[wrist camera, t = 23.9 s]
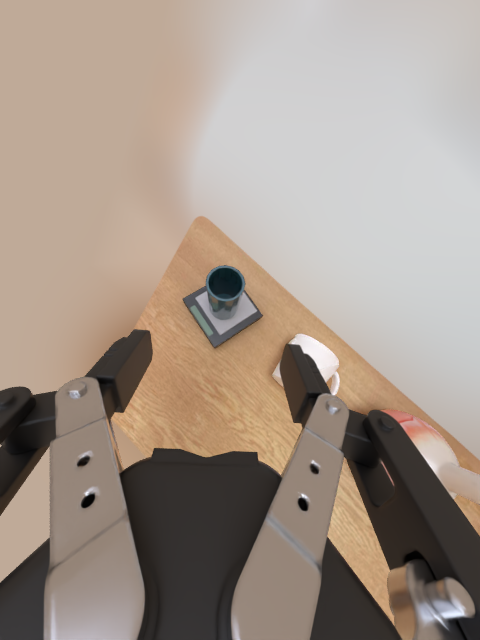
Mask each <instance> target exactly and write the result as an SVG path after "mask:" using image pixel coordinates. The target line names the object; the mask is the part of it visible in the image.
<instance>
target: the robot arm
mask: <svg viewBox="0 0 480 640" xmlns="http://www.w3.org/2000/svg"><path fill="white" fill-rule="evenodd" d="M152 354H153V351H152V343H151V334H150V331H148V330H137V329H134V330H133V331H132V332H131V334H130V335H129V336H128V337H127V338H126V337H123V338H121V339H119V340H118V341H116V342H115V343H114V344H113V345H112V346H111V347H110V348H109V350H108V351H107V352H106V353H105V354H104V356H102V357H101V358H100V360H99V361H98V362H97V363H96V364H95V365H94V366H93V368H92V369H91V370H90V371H89V372H88V373H87V374H86V375H85V377H81V378H77V379H74V380H72V381H70V382H68V383H66V384H64V385H63V386H62V387H61V388H60V389H59V390H58V391H54V392H48V393H42V394H36V395H33V394H32V393H31V391H30V390H29V389H28V388H26V387H12V388H8V389H5V390H2V391H0V444H1V445H2V446H1V447H0V515H1V514H2V513H3V511H4V510H5V508H6V507H7V505H8V504H9V502H10V501H11V500H12V498H13V497H14V496H15V494H16V493H17V491H18V490H19V489H20V487H21V486H22V484H23V483H24V481H25V480H26V479H27V477H28V476H29V474H30V473H31V471H32V470H33V469H34V467H35V466H36V464H37V463H38V462H39V460H40V459H41V457H42V456H43V454H44V453H45V452H46V450H47V449H48V447H49V446H50V538H48V539H47V540H46V541H45V542H44V543H43V544H42V545H41V546H40V547H39V548H38V549H36V550H35V551H34V552H33V553H32V554H31V555H30V556H29V557H28V558H27V559H26V560H24V561H23V562H22V563H21V564H20V565H19V566H18V567H17V568H16V569H15V570H14V571H12V572H11V573H10V574H9V575H8V576H7V577H6V578H5V579H4V580H3V581H2V582H1V583H0V640H480V536H479V535H478V533H477V532H476V531H475V529H474V528H473V526H472V525H471V524H470V522H469V521H468V519H467V518H466V517H465V515H464V514H463V512H462V511H461V509H460V508H459V507H458V505H457V504H456V502H455V501H454V500H453V498H452V497H451V495H450V494H449V492H448V491H447V490H446V488H445V487H444V485H443V484H442V483H441V481H440V480H439V478H438V477H437V476H436V474H435V473H434V471H433V470H432V468H431V467H430V466H429V464H428V463H427V461H426V460H425V459H424V457H423V456H422V454H421V453H420V451H419V450H418V449H417V447H416V446H415V444H414V443H413V442H412V440H411V439H410V437H409V436H408V435H407V433H406V432H405V430H404V429H403V427H402V426H401V425H400V423H399V422H398V421H397V420H396V419H394V418H393V417H392V416H390V415H389V414H387V413H385V412H383V411H380V410H372V411H370V412H369V413H368V415H367V416H366V415H364V414H361V413H358V412H355V411H352V410H349V409H348V407H347V406H346V404H345V403H344V402H343V401H342V400H341V399H339V398H338V397H336V396H334V395H332V394H331V392H330V390H329V388H328V386H327V384H326V382H325V380H324V378H323V376H322V374H320V371H319V369H318V368H317V365H316V363H315V361H314V360H313V359H312V358H311V357H310V356H309V355H308V354H305V353H304V352H303V350H302V348H301V346H300V345H297V344H286V345H285V348H284V352H283V355H282V358H281V361H280V367H279V370H280V375H281V379H282V382H283V386H284V390H285V393H286V397H287V400H288V404H289V408H290V411H291V415H292V419H293V422H294V423H301V424H302V427H303V429H302V431H301V433H300V435H299V437H298V439H297V442H296V444H295V446H294V448H293V450H292V453H291V455H290V457H289V459H288V461H287V464H286V466H285V468H284V470H283V472H282V474H281V475H280V474H279V473H278V472H276V471H275V470H274V469H273V468H271V467H270V466H268V465H267V464H265V463H263V462H260V461H258V454H257V452H239V451H232V452H228V453H224V454H220V455H216V456H212V457H207V458H206V457H202V456H199V455H196V454H193V453H190V452H187V451H184V450H182V449H164V448H154V451H153V454H152V457H149V458H146V459H143V460H140V461H139V462H136V463H134V464H133V465H131V466H129V467H128V468H126V469H125V470H124V468H123V465H122V461H121V458H120V455H119V450H118V447H117V443H116V439H115V435H114V431H113V427H112V423H111V417H112V416H113V414H114V412H120V413H124V411H125V409H126V407H127V405H128V403H129V402H130V400H131V398H132V396H133V394H134V392H135V390H136V389H137V387H138V385H139V383H140V381H141V379H142V377H143V375H144V374H145V372H146V370H147V368H148V366H149V364H150V362H151V360H152ZM344 457H345V458H346V459H347V462H348V465H349V467H350V470H351V472H352V475H353V477H354V480H355V482H356V485H357V487H358V490H359V492H360V495H361V498H362V500H363V503H364V505H365V508H366V510H367V513H368V515H369V518H370V520H371V523H372V525H373V528H374V531H375V533H376V536H377V538H378V541H379V543H380V546H381V548H382V551H383V553H384V556H385V558H386V561H387V564H388V566H389V569H390V572H389V574H388V578H387V588H388V594H389V605H390V608H391V611H392V613H393V615H394V622H395V626H394V625H393V624H392V622H391V621H390V619H389V618H388V617H387V615H386V614H385V613H384V611H383V610H382V609H381V607H380V606H379V605H378V603H377V602H376V601H375V599H374V598H373V597H372V595H371V594H370V593H369V591H368V590H367V589H366V587H365V586H364V585H363V583H362V582H361V581H360V579H359V578H358V577H357V575H356V574H355V573H354V571H353V570H352V569H351V567H350V566H349V565H348V563H347V562H346V561H345V559H344V558H343V557H342V555H341V554H340V553H339V551H338V550H337V549H336V547H335V546H334V545H333V544H332V542H331V541H330V540H329V538H328V537H327V534H328V530H329V525H330V520H331V516H332V511H333V506H334V502H335V497H336V492H337V487H338V483H339V478H340V473H341V469H342V464H343V459H344ZM382 462H383V464H384V466H385V468H386V470H387V472H388V473H389V475H390V477H391V479H392V481H393V483H392V481H391V479H390V477H389V476H388V474H387V472H386V470H385V468H384V466H383V464H382ZM393 484H394V485H393Z"/></svg>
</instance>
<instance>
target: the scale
mask: <svg viewBox="0 0 480 640" xmlns="http://www.w3.org/2000/svg"><path fill="white" fill-rule="evenodd" d="M183 301H184V303H185V304H186V306H187V307H188V309H189V311H190V312H191V314H192V315H193V317H194V318H195V320H196V321H197V323H198V324H199V326H200V327H201V329H202V330H203V332H204V333H205V335H206V336H207V338H208V339H209V341H210V342H211V344H212V345H213V347H214V348H217V347H218V346H220V345H221V344H223V343H224V342H226V341H227V340H229V339H230V338H232V337H233V336H235V335H236V334H238V333H239V332H241V331H242V330H244V329H245V328H247V327H248V326H250V325H251V324H253V323H254V322H256V321H257V320H259V319H260V318H261V317H262V316H263V315H262V314H261V312H260V311H259V309H258V308H257V307H256V305H255V304H254V303H253V301H252V300H251V298H250V297H249V296H248V294H247V293H246V291H245V290H244V292H243V295H242V298H241V301H240V304H239V307H238V310H237V312H236V314H235V315H234V316H233V317H232V318H230V319H227V320H220V319H217V318H215V317H214V316H213V315H212V314H211V312H210V309H209V304H208V296H207V289H206V286H204V287H203V288H201V289H199V290H197V291H196V292H194V293H192V294H190V295H189V296H187V297H185V298H183Z"/></svg>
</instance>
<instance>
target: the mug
mask: <svg viewBox="0 0 480 640" xmlns="http://www.w3.org/2000/svg"><path fill="white" fill-rule="evenodd" d="M288 344H297V345H300V346H301V348H302V350H303V352H304V353H305V354H308V355H309V356H310V357H311V358H312V359H313V360H314V361H315V363H316V365H317V368H318V369H319V371H320V374H322V376H323V378H324V380H325V382H327V381H328V379H329V378H330V377H331V376H332V385H331V388H330V392H331V394H332V395H334V396H335V395H336V393H337V391H338V388H339V384H340V379H339V375H338V373H337V372H336V370H337V368H338V367H339V365H338V364H339V360H338V358H337V357H336V356H335V354H334V353H333V352H332V351H331V350H330V349H328V348H327V347H326V346H325V345H323V344H322V343H320V342H319V341H317V340H315V339H314V338H312V337H310V336H307V335H305V334H296V335H295V337H294V339H292V340H291V341H290V342H289V343H288ZM280 361H281V359H280ZM280 361H279V363H278V365H277V367H276V369H275V370H274V372H273V374H272V376H273V378H274V379H275V380H276V381H277V382H278V383H279V384H280V385H281V386H283V382H282V379H281V375H280V370H279V367H280ZM283 387H284V386H283Z"/></svg>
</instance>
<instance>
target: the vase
mask: <svg viewBox="0 0 480 640" xmlns="http://www.w3.org/2000/svg"><path fill="white" fill-rule="evenodd" d="M380 411H383V412H385V413H387V414H389V415H390V416H392V417H393V418H394V419H396V420H397V421H398V422H399V423H400V425H401V426H402V427H403V429H404V430H405V432H406V433H407V435H408V436H409V437H410V439H411V440H412V442H413V443H414V444H415V446H416V447H417V449H418V450H419V451H420V453H421V454H422V456H423V457H424V459H425V460H426V461H427V463H428V464H429V466H430V467H431V468H432V470H433V471H434V473H435V474H436V476H437V477H438V478H439V480H440V481H441V483H442V484H443V485H444V487H445V488H446V490H447V491H448V492H449V494H450V495H451V497H452V498H453V500H454V498H455V497H456V496H457V495H460V496H462V497H464V498H466V499H468V500H470V501H472V502H474V503H476V504H478V505H480V475H478V474H476V473H474V472H471V471H469V470H466V469H464V468H462V467H460V465H459V463H458V460H457V458H456V456H455V454H454V452H453V450H452V449H451V447H450V445H449V444H448V443H447V442H446V440H445V439H444V438H443V437H442V436H441V435H440V434H439V433H438V432H437V431H436V430H435V429H434V428H433V427H431V426H430V425H429V424H427V423H426V422H424V421H423V420H421V419H419V418H417V417H415V416H413V415H411V414H408V413H405V412H402V411H398V410H392V409H383V410H380ZM382 464H383V462H382ZM383 466H384V464H383ZM384 468H385V466H384ZM385 470H386V468H385ZM386 472H387V470H386ZM387 474H388V476H389V477H390V475H389V473H388V472H387ZM390 479H391V477H390ZM391 481H392V479H391ZM392 483H393V481H392ZM393 485H394V484H393Z"/></svg>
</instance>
